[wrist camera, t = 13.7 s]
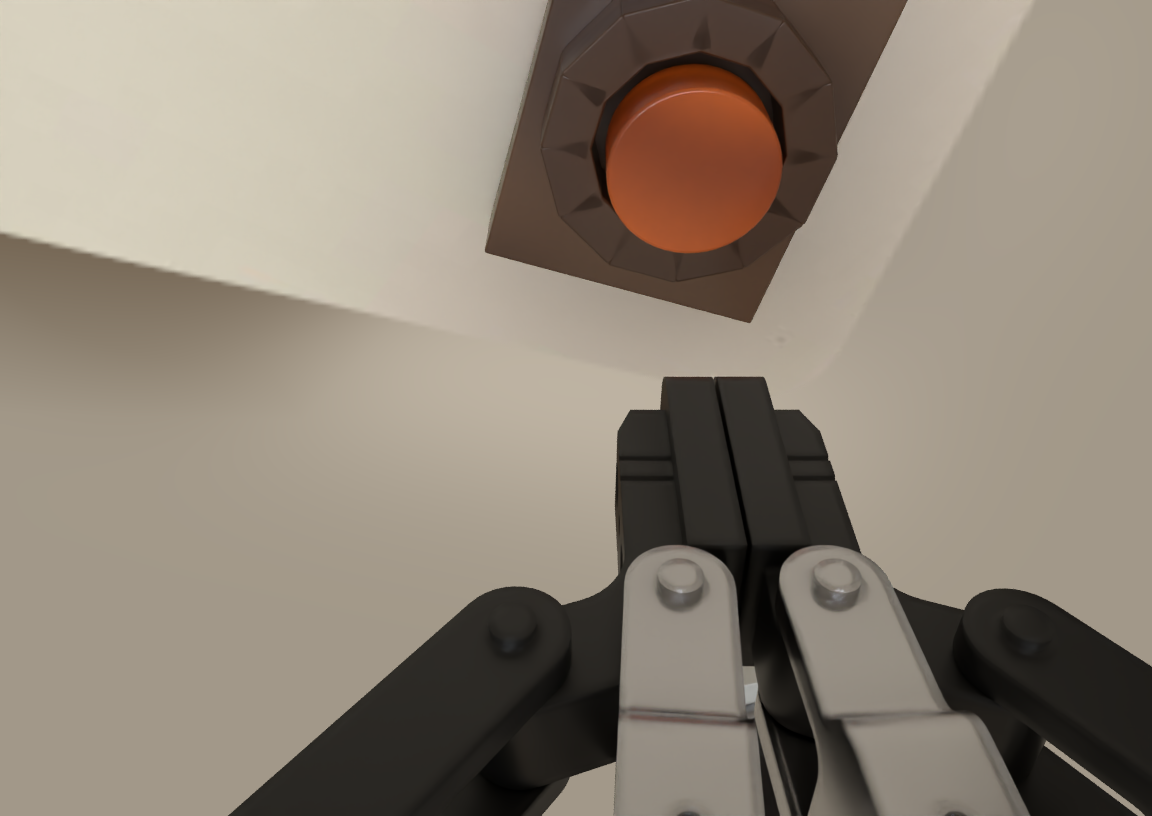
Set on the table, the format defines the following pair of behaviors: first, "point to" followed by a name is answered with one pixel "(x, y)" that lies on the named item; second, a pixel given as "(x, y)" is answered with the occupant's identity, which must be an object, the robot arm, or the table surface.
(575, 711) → the robot arm
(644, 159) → the button
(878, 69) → the table surface
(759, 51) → the button block
